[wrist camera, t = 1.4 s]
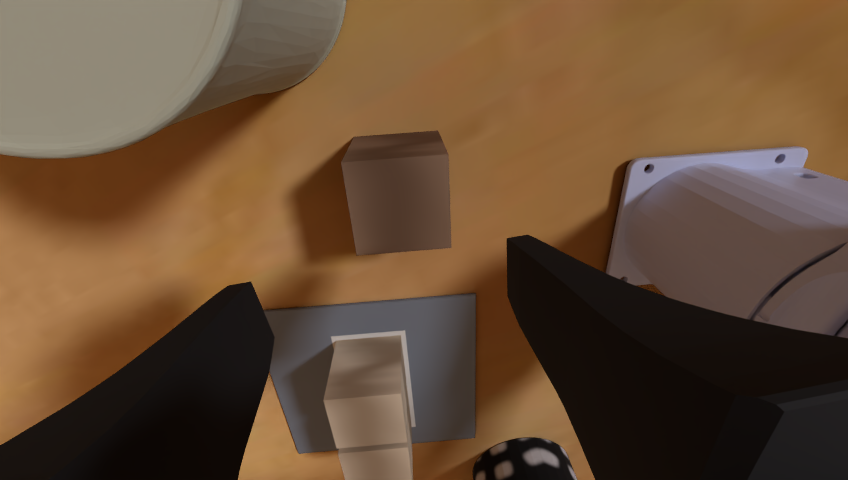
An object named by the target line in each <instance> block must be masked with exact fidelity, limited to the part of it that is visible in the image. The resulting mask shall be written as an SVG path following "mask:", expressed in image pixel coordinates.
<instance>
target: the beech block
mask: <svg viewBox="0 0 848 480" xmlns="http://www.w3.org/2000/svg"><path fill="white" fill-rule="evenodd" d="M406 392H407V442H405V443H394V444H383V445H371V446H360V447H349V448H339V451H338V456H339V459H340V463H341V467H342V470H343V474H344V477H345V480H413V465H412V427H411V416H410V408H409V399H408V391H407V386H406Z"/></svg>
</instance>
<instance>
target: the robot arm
mask: <svg viewBox="0 0 848 480" xmlns="http://www.w3.org/2000/svg"><path fill="white" fill-rule="evenodd" d="M778 155H779V156H778ZM777 156H778V158H777V159H776V157H777ZM807 156H808V150H807V149H806V148H803V147H798V146H794V147H781V148H768V149H754V150H741V151H728V152H714V153H701V154H688V155H675V156H661V157H648V158H637V159H634V160H632V161H631V162H630V163H629V164H628V166H627V169H626V175H625V180H624V185H623V190H622V195H621V200H620V205H619V210H618V215H617V220H616V225H615V230H614V235H613V240H612V245H611V250H610V255H609V260H608V265H607V270H606V273H604V272H602V271H600V270H597V269H595V268H593V267H591V266H589V265H587V264H585V263H583V262H581V261H579V260H577V259H575V258H573V257H571V256H569V255H567V254H565V253H563V252H561V251H559V250H557V249H555V248H554V247H552V246H550V245H548V244H546V243H544V242H542V241H540V240H538V239H536V238H534V237H532V236H529V235H523V236H517V237H512V238H507V288H508V298H509V301H510V303H511V306H512V309H513V311H514V314H515V316H516V319H517V321H518V323H519V326H520V327H521V329H522V331H523V333H524V335H525V337H526V338H527V340H528V342H529V344H530V346H531V347H532V349H533V351H534V353H535V354H536V356H537V358H538V360H539V362H540V363H541V365H542V367H543V369H544V370H545V372H546V374H547V376H548V377H549V379H550V381H551V383H552V385H553V386H554V388H555V390H556V392H557V394H558V396H559V398H560V400H561V402H562V403H563V405H564V408H565V410H566V412H567V414H568V417H569V419H570V421H571V424H572V426H573V428H574V430H575V433H576V435H577V437H578V439H579V442H580V444H581V447H582V449H583V451H584V454H585V456H586V459H587V461H588V463H589V466H590V468H591V471H592V473H593V475H594V478H595V480H848V181H845V180H842V179H838V178H835V177H832V176H828V175H825V174H822V173H819V172H815V171H812V170H809V169H806V168H803V166H804V163H805V161H806V159H807ZM775 159H776V160H775ZM648 164H650V167H649V169H648V170H646V171H644V168H645V166H647V165H648ZM622 277H624V278H623V279H622V280H620V279H621V278H622ZM647 284H653V285H654V286H655V287H656V288H657V289H659V290H660V291H661V292H662V293H663V294H664V295H665V296H663V295H660V294H657V293H654V292H652V291H649V290H646V289H643V288H640V287H638V286H635V285H647ZM274 339H275V337H274V334H273V332H272V330H271V327H270V325H269V323H268V320H267V318H266V316H265V313H264V311H263V309H262V306H261V304H260V302H259V299H258V297H257V294H256V292H255V290H254V287H253V285H252V283H251V282H246V283H241V284H235V285H229V286H227V287H226V288H224V289H223V290H221V291H220V292H218V293H217V294H216V295H215V296H213V297H212V298H211V299H209V300H208V301H207V302H206V303H204V304H203V305H202V306H201V307H199V308H198V309H197V310H196V311H195V312H193V313H192V314H191V315H190V316H188V317H187V318H186V319H185V320H184V321H182V322H181V323H180V324H179V325H177V326H176V327H175V328H174V329H172V330H171V331H170V332H169V333H168V334H166V335H165V336H164V337H163V338H161V339H160V340H159V341H157V342H156V343H155V344H153V345H152V346H151V347H149V348H148V349H147V350H145V351H144V352H143V353H142V354H140V355H139V356H138V357H136V358H135V359H134V360H132V361H131V362H130V363H128V364H127V365H126V366H125V367H123V368H122V369H120V370H119V371H118V372H116V373H115V374H113V375H112V376H110V377H109V378H108V379H106V380H105V381H103V382H102V383H100V384H99V385H97V386H96V387H94V388H93V389H91V390H90V391H88V392H87V393H85V394H84V395H82V396H81V397H79V398H78V399H76V400H75V401H73V402H72V403H70V404H69V405H67V406H65V407H64V408H62V409H61V410H59V411H57V412H56V413H54V414H52V415H51V416H49V417H47V418H46V419H44V420H42V421H41V422H39V423H37V424H36V425H34V426H32V427H30V428H29V429H27V430H25V431H24V432H22V433H20V434H19V435H17V436H15V437H14V438H12V439H10V440H9V441H7V442H5V443H4V444H2V445H0V480H238V475H239V470H240V466H241V463H242V459H243V455H244V452H245V448H246V445H247V442H248V439H249V435H250V432H251V429H252V426H253V423H254V419H255V416H256V413H257V410H258V407H259V404H260V400H261V397H262V394H263V391H264V387H265V384H266V381H267V377H268V374H269V370H270V365H271V359H272V353H273V346H274Z"/></svg>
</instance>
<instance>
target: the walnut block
mask: <svg viewBox="0 0 848 480" xmlns="http://www.w3.org/2000/svg"><path fill="white" fill-rule="evenodd" d="M341 165H342V171H343V177H344V183H345V189H346V195H347V201H348V207H349V213H350V219H351V225H352V230H353V236H354V242H355V248H356V254H357V255H369V254H382V253H394V252H406V251H419V250H431V249H443V248H451V222H450V190H449V159H448V152H447V150H446V148H445V145H444V143H443V141H442V139H441V136H440V134H439V132H438V131H426V132H413V133H400V134H386V135H373V136H359V137H354V138H353V140H352V142H351V144H350V146H349V148H348V150H347V152H346V154H345V156H344V157H343V159H342V161H341Z"/></svg>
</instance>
